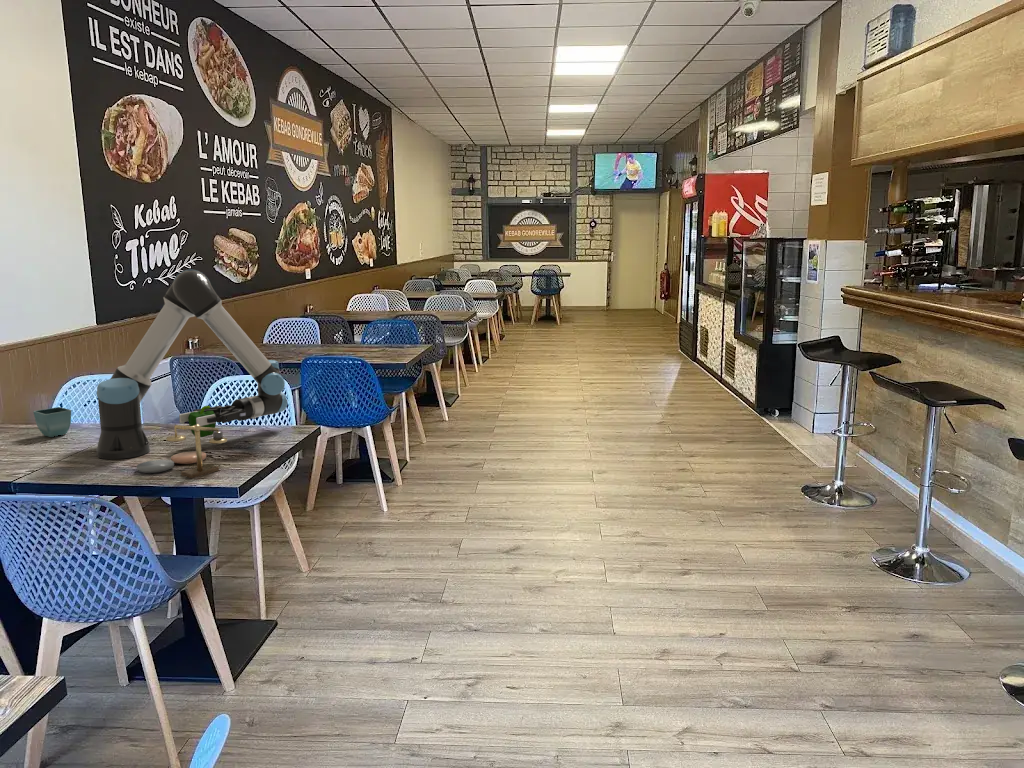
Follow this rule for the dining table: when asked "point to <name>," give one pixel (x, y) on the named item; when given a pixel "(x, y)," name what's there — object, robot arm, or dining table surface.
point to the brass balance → (198, 449)
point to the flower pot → (53, 421)
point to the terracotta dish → (186, 457)
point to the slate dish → (155, 466)
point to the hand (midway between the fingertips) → (188, 420)
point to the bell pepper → (203, 433)
